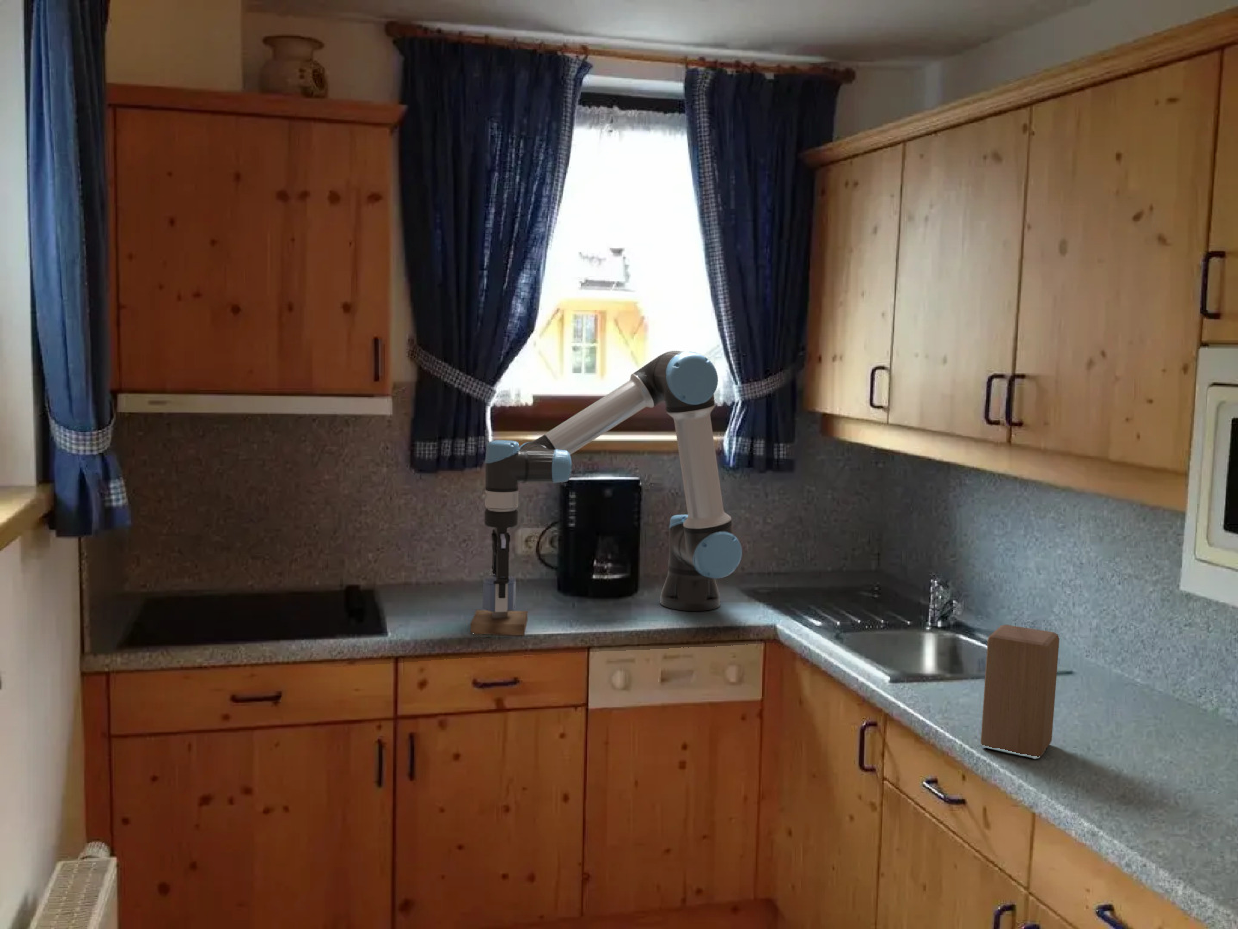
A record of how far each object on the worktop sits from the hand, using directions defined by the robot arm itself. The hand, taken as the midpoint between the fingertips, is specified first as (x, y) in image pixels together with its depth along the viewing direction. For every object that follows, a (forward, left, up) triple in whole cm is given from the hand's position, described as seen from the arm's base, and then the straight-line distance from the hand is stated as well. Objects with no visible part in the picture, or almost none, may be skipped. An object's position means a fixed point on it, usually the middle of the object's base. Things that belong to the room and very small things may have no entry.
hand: (499, 606), depth 262 cm
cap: (0, 0, 0) cm, 0 cm away
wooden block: (-94, +70, -5) cm, 118 cm away
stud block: (0, 0, -5) cm, 5 cm away
